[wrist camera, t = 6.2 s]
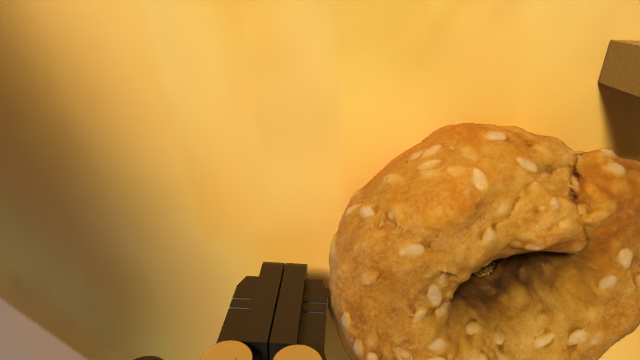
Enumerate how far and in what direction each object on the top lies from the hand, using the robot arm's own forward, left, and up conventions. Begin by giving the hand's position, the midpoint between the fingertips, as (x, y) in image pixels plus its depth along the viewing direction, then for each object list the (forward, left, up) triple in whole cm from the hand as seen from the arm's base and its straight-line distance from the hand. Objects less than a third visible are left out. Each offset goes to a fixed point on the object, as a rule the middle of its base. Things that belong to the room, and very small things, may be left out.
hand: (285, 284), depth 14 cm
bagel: (+7, +1, -2) cm, 7 cm away
